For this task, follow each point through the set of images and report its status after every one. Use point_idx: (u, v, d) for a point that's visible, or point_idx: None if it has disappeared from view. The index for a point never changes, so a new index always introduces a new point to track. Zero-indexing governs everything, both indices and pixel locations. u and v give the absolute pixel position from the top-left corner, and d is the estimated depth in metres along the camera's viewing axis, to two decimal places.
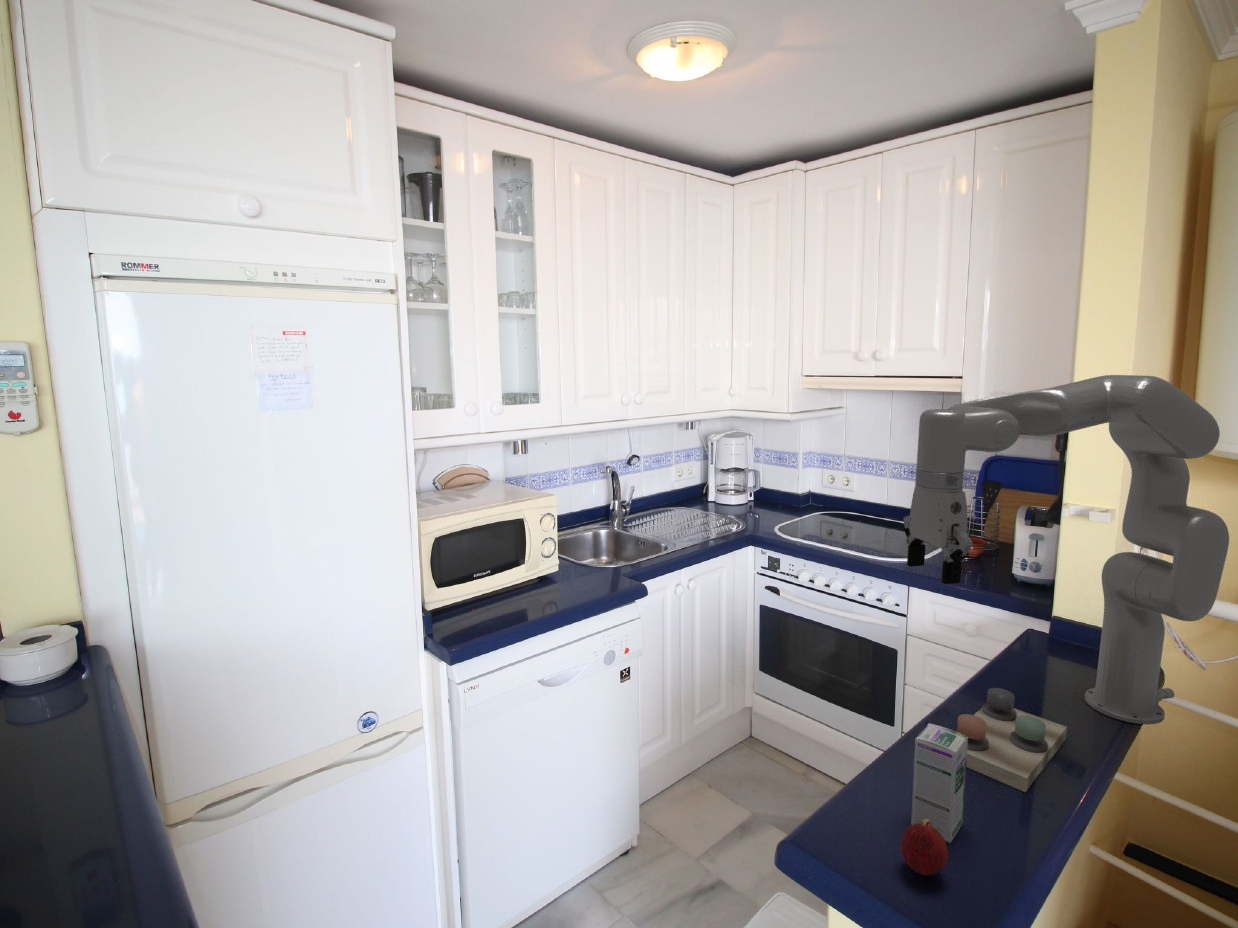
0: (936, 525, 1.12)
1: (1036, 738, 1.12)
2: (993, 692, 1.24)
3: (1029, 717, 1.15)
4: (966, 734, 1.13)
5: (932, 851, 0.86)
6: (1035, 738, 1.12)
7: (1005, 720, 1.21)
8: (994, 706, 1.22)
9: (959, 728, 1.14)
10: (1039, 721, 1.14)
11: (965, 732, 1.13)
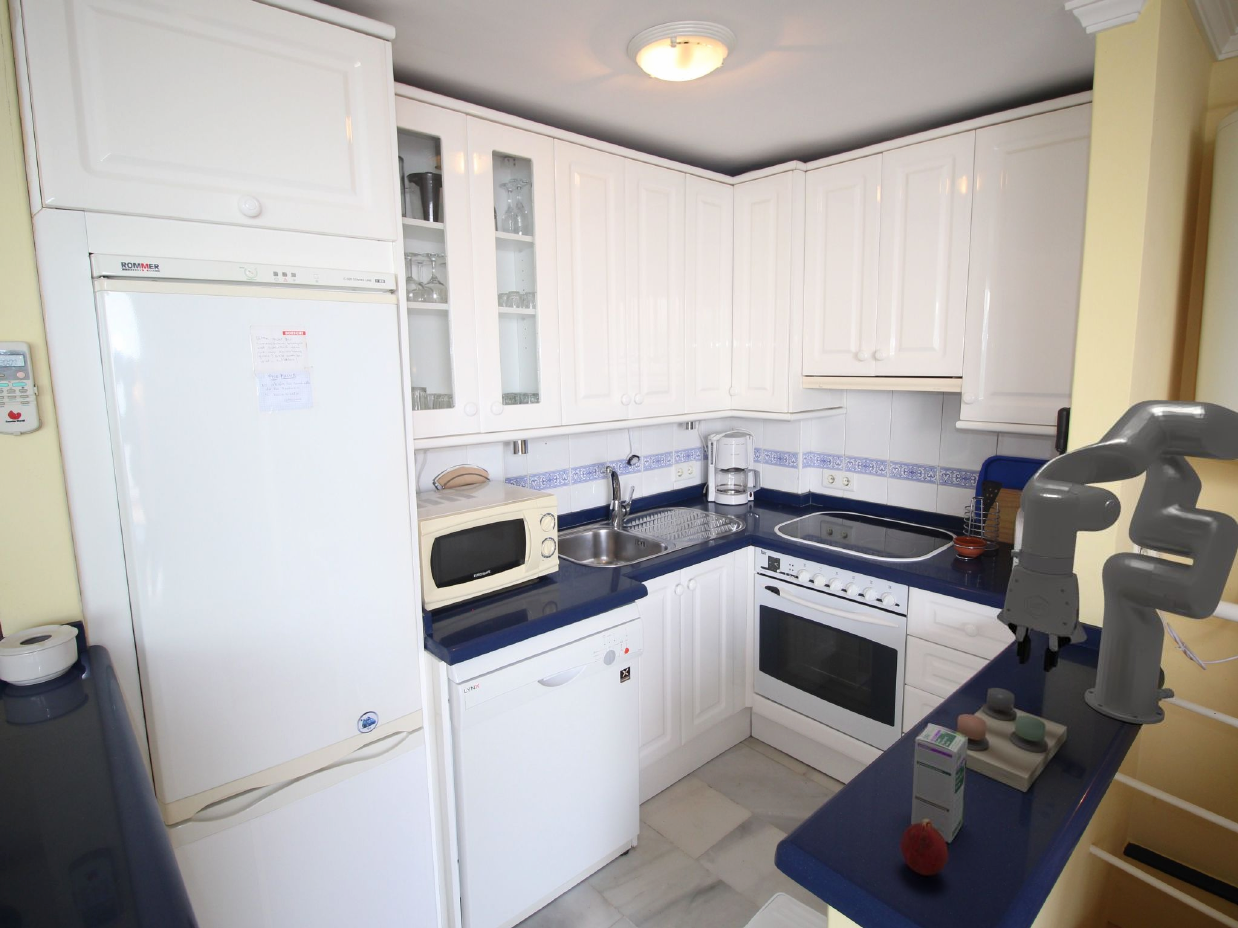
0: None
1: (1036, 738, 1.12)
2: (993, 692, 1.24)
3: (1029, 717, 1.15)
4: (966, 734, 1.13)
5: (932, 851, 0.86)
6: (1035, 738, 1.12)
7: (1005, 720, 1.21)
8: (994, 706, 1.22)
9: (959, 728, 1.14)
10: (1039, 721, 1.14)
11: (965, 732, 1.13)
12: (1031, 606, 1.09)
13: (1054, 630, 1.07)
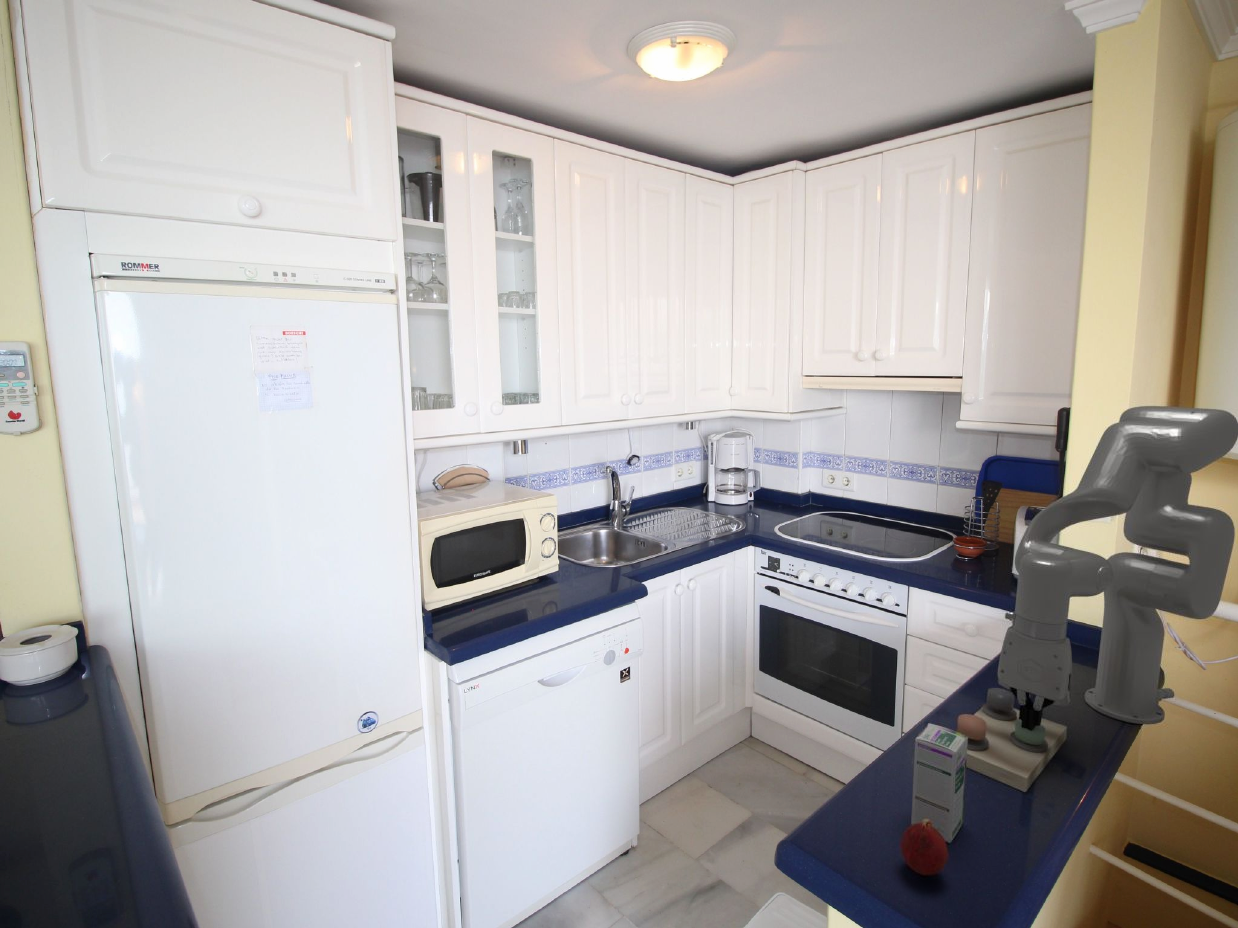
0: None
1: (1036, 742, 1.12)
2: (993, 692, 1.24)
3: None
4: (966, 734, 1.13)
5: (932, 851, 0.86)
6: (1034, 742, 1.12)
7: (1005, 720, 1.21)
8: (994, 706, 1.22)
9: (959, 728, 1.14)
10: None
11: (965, 732, 1.13)
12: (1024, 669, 1.11)
13: (1047, 694, 1.08)
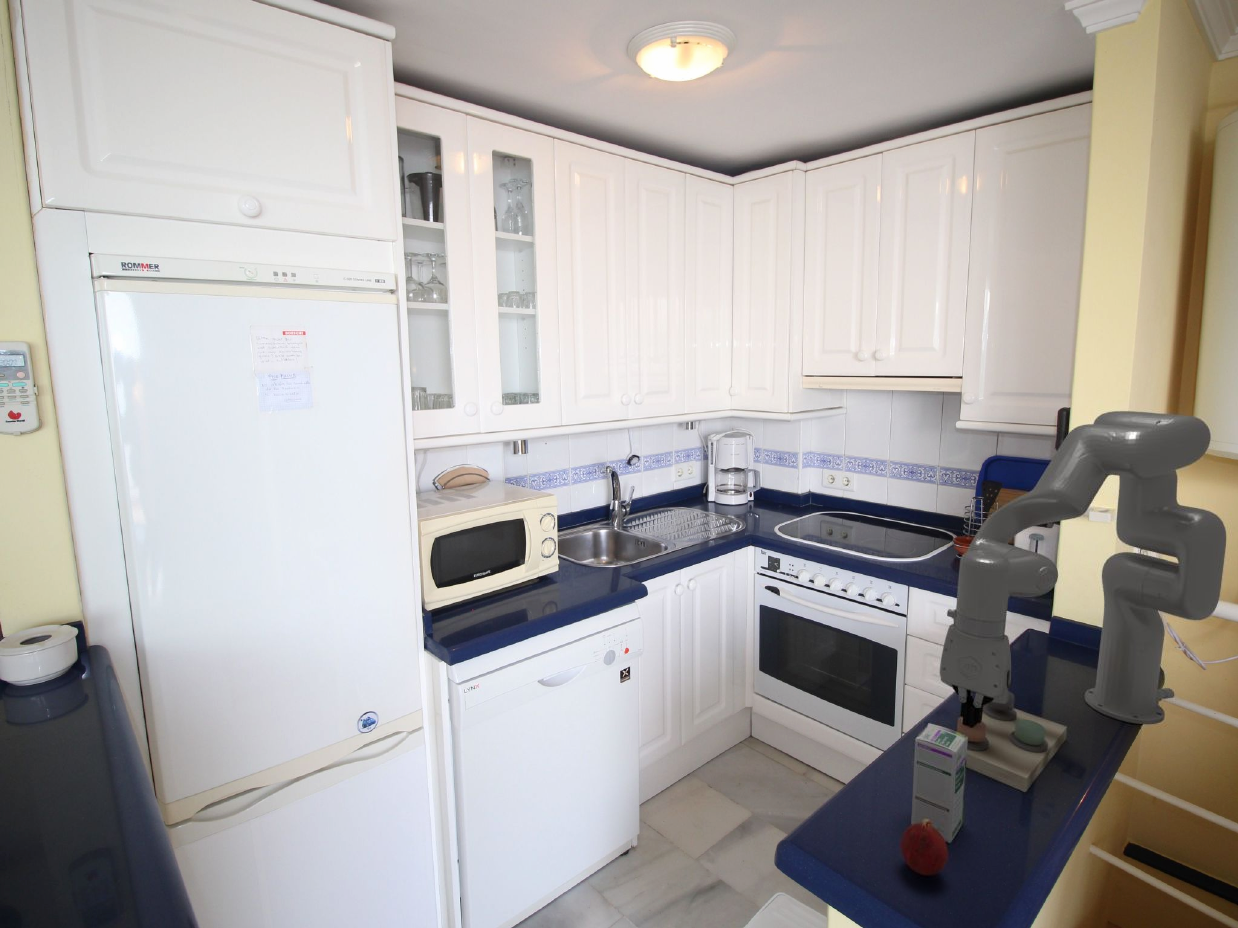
0: None
1: (1036, 742, 1.12)
2: None
3: (1029, 721, 1.15)
4: None
5: (932, 851, 0.86)
6: (1034, 742, 1.12)
7: (1005, 720, 1.21)
8: (994, 706, 1.22)
9: (959, 730, 1.14)
10: (1039, 725, 1.14)
11: (965, 734, 1.13)
12: (964, 667, 1.11)
13: (985, 691, 1.09)
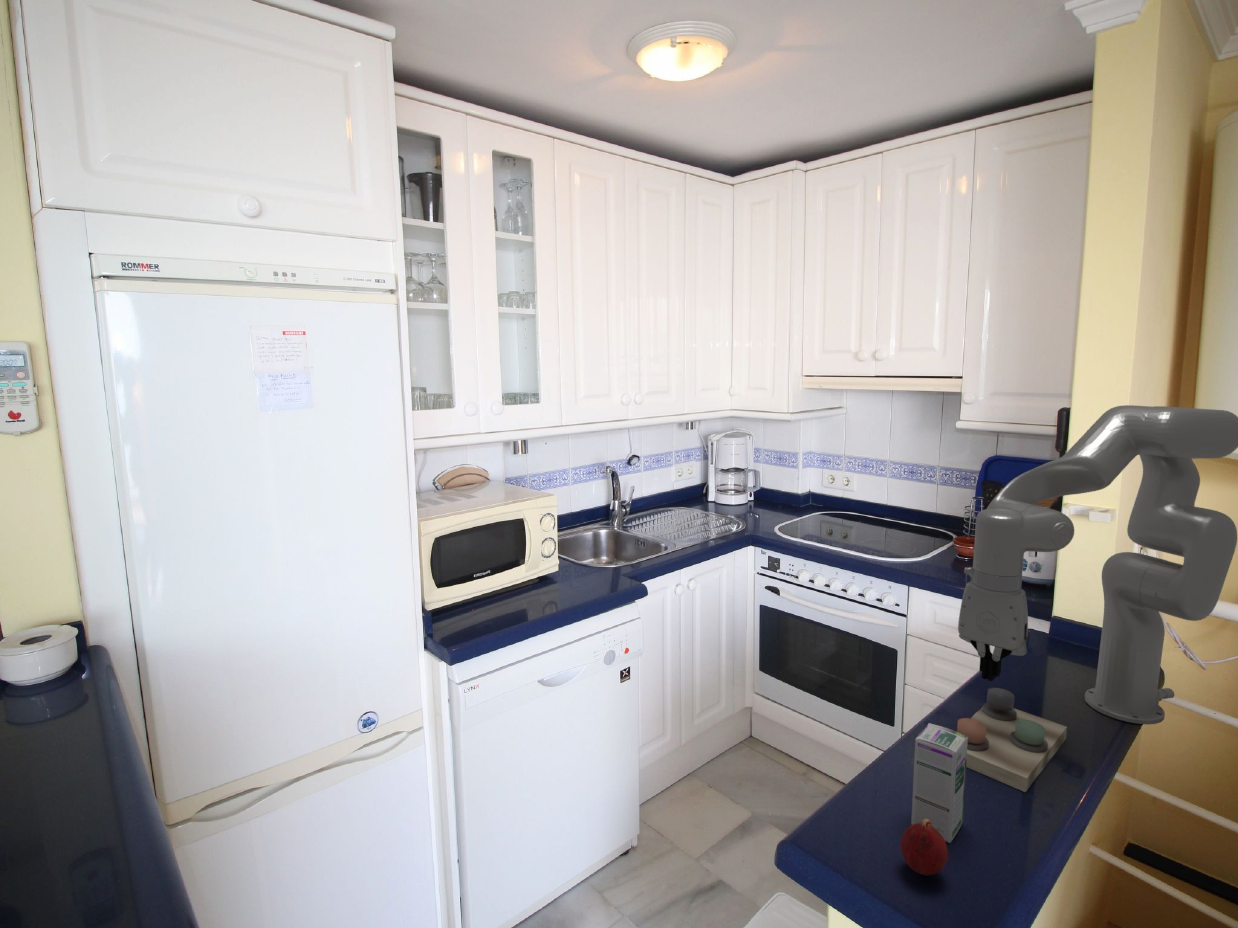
0: None
1: (1036, 742, 1.12)
2: (993, 692, 1.24)
3: (1029, 721, 1.15)
4: None
5: (932, 851, 0.86)
6: (1034, 742, 1.12)
7: (1005, 720, 1.21)
8: (994, 706, 1.22)
9: (959, 732, 1.14)
10: (1039, 725, 1.14)
11: None
12: (983, 622, 1.14)
13: (1004, 644, 1.12)
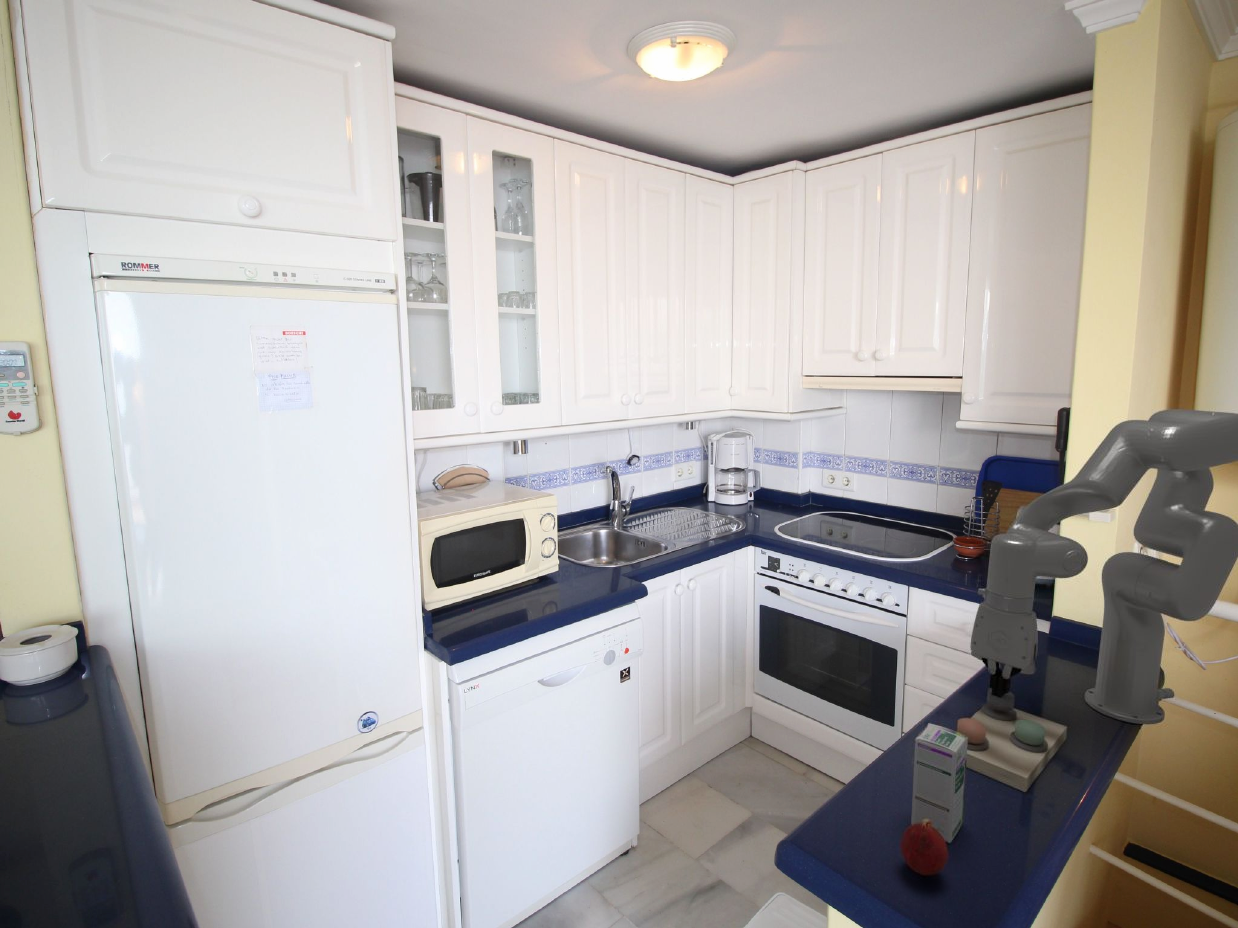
0: None
1: (1036, 742, 1.12)
2: None
3: (1029, 721, 1.15)
4: None
5: (932, 851, 0.86)
6: (1034, 742, 1.12)
7: (1005, 720, 1.21)
8: (994, 706, 1.22)
9: (959, 732, 1.14)
10: (1039, 725, 1.14)
11: None
12: (994, 640, 1.20)
13: (1014, 663, 1.18)
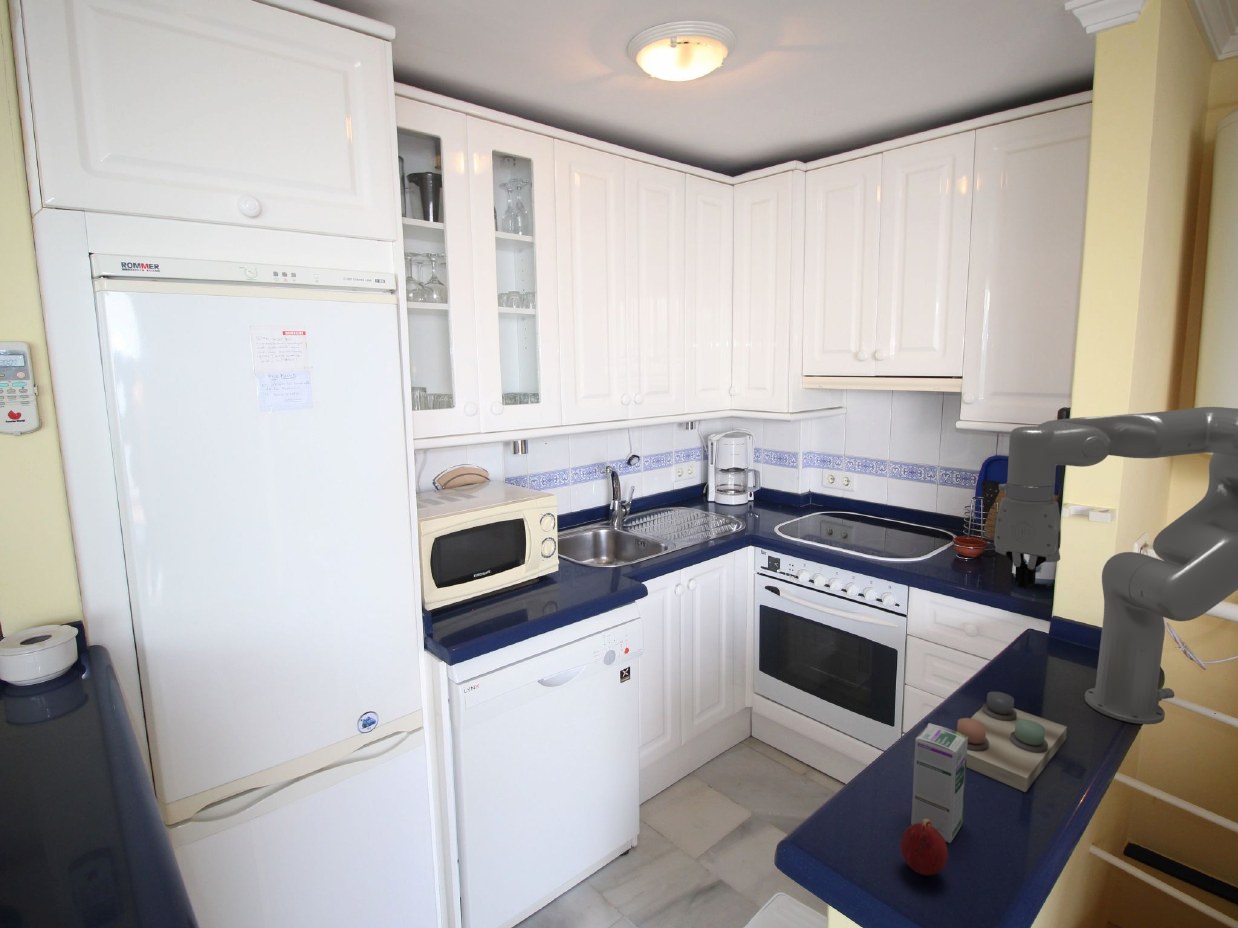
0: None
1: (1036, 742, 1.12)
2: (993, 695, 1.24)
3: (1029, 721, 1.15)
4: None
5: (932, 851, 0.86)
6: (1034, 742, 1.12)
7: (1005, 720, 1.21)
8: (994, 710, 1.22)
9: (959, 732, 1.14)
10: (1039, 725, 1.14)
11: None
12: (1018, 532, 1.22)
13: (1039, 552, 1.20)
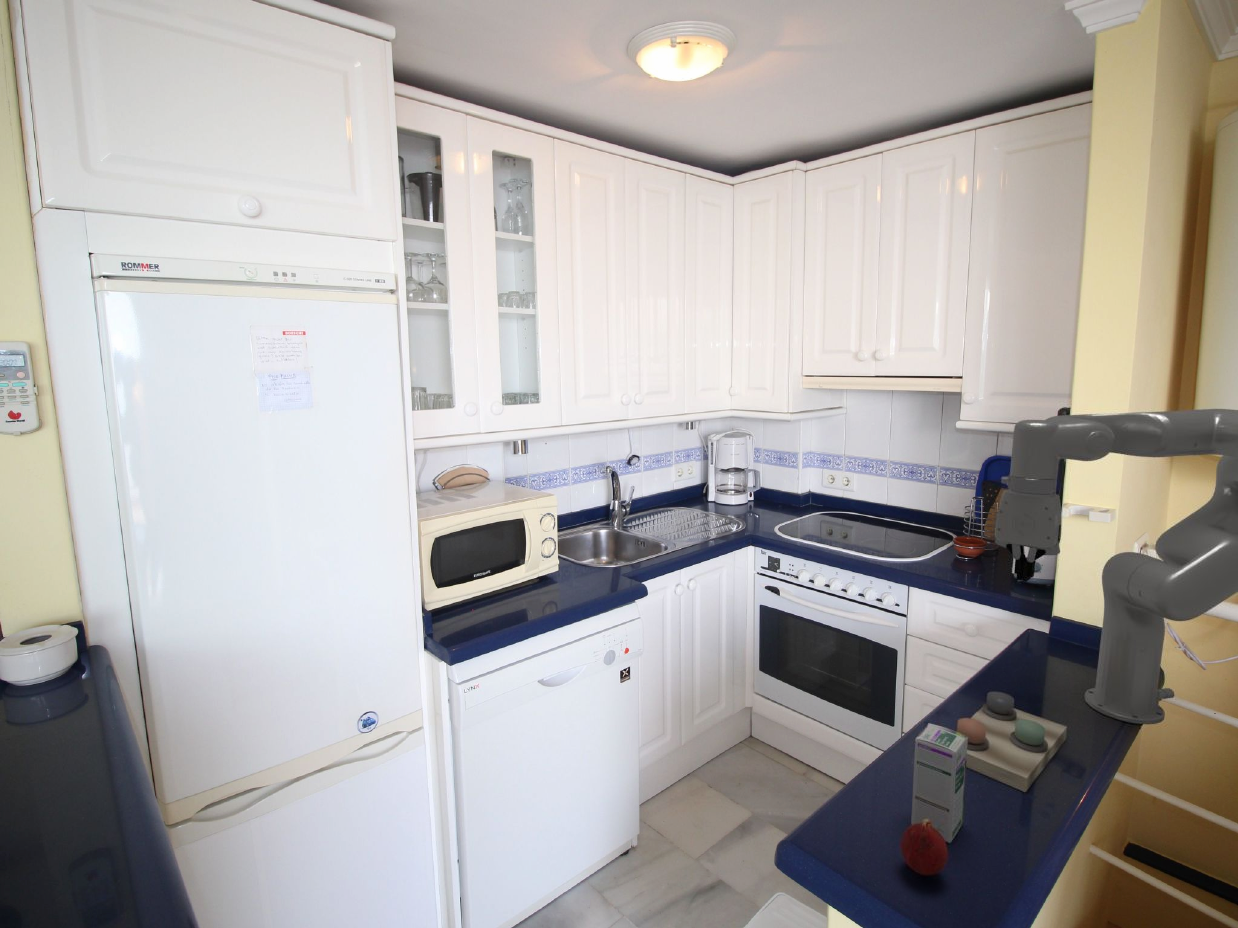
0: None
1: (1036, 742, 1.12)
2: (993, 695, 1.24)
3: (1029, 721, 1.15)
4: None
5: (932, 851, 0.86)
6: (1034, 742, 1.12)
7: (1005, 720, 1.21)
8: (994, 710, 1.22)
9: (959, 732, 1.14)
10: (1039, 725, 1.14)
11: None
12: (1019, 524, 1.23)
13: (1039, 544, 1.20)
